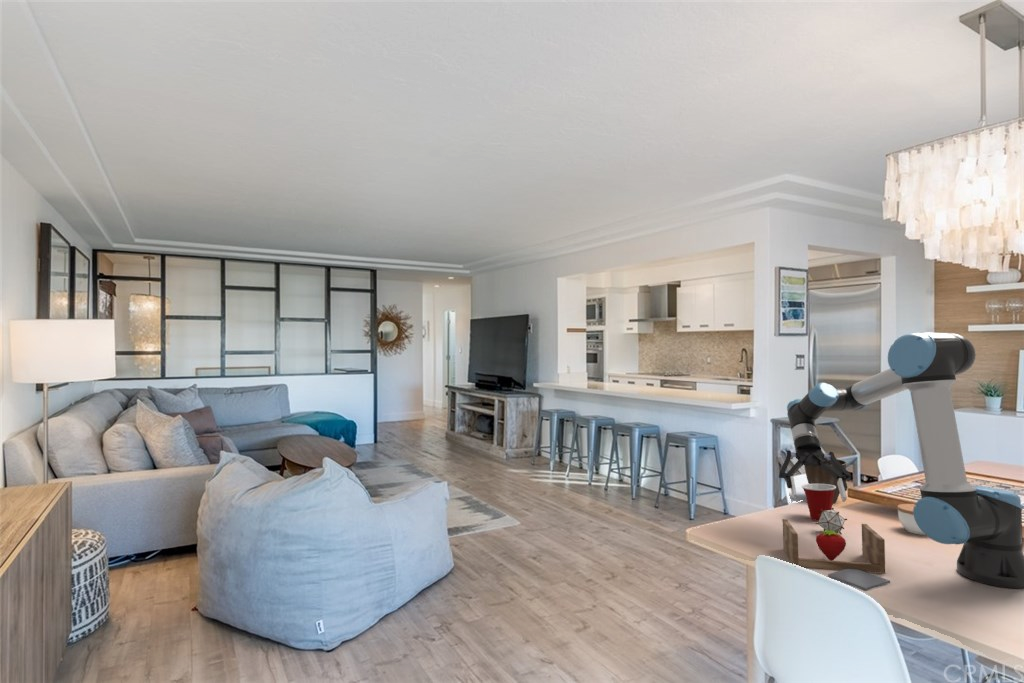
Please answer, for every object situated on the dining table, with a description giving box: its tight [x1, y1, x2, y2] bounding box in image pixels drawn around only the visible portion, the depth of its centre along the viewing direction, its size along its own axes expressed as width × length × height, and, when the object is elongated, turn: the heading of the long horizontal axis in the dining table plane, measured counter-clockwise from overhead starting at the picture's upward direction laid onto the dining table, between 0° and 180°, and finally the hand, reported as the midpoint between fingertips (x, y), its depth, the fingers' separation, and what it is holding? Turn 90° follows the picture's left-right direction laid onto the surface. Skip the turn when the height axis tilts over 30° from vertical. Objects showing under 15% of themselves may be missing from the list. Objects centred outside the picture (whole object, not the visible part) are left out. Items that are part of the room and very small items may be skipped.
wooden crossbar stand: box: [782, 518, 886, 574], centre depth 160 cm, size 14×22×9 cm, turn 75°
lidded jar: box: [897, 502, 927, 536], centre depth 183 cm, size 11×11×9 cm
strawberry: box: [815, 526, 847, 561], centre depth 160 cm, size 6×8×10 cm
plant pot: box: [803, 458, 847, 505], centre depth 221 cm, size 15×15×16 cm
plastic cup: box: [801, 483, 836, 522], centre depth 198 cm, size 11×11×12 cm
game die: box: [814, 507, 848, 535], centre depth 183 cm, size 9×8×10 cm
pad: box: [827, 568, 891, 591], centre depth 146 cm, size 10×10×1 cm
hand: (819, 498), depth 170 cm, fingers open, 13 cm apart
